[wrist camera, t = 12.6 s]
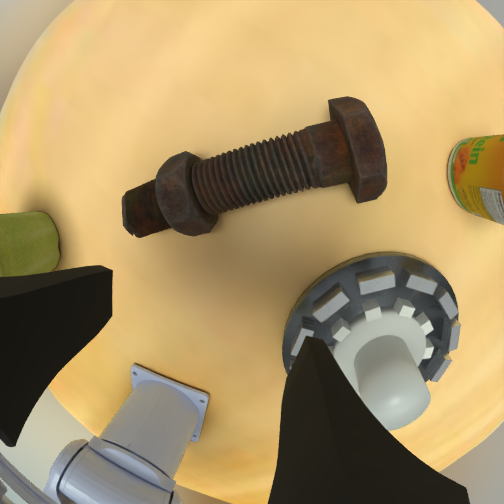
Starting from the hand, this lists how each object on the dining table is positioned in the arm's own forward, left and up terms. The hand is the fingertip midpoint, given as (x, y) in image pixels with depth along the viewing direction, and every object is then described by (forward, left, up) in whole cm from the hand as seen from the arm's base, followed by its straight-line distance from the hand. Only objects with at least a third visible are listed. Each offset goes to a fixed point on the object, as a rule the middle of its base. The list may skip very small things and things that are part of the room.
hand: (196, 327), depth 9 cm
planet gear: (-4, -11, -8) cm, 14 cm away
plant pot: (-5, +20, -10) cm, 23 cm away
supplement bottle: (+10, -14, -10) cm, 20 cm away
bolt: (+5, +1, -10) cm, 11 cm away
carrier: (-4, -11, -9) cm, 15 cm away
